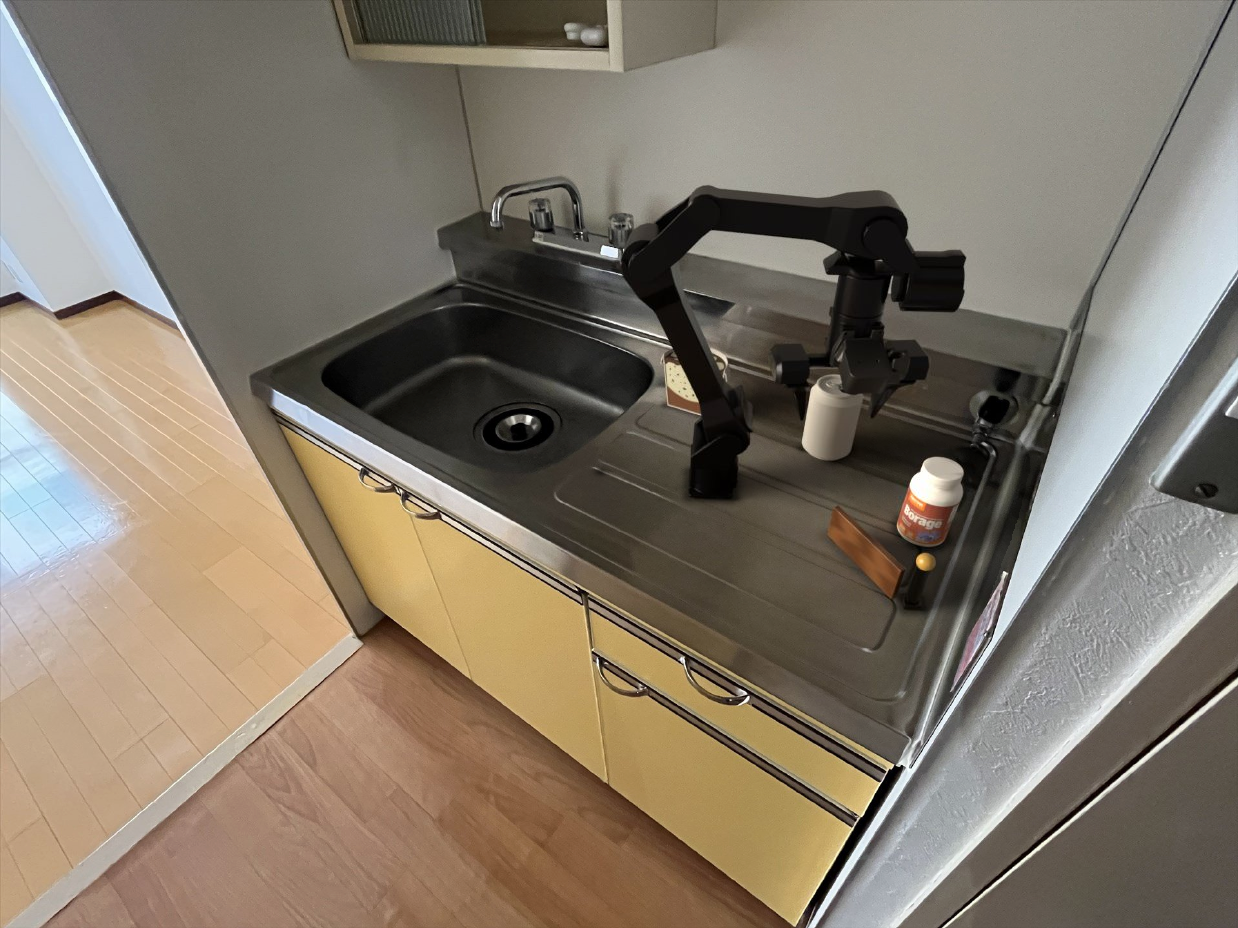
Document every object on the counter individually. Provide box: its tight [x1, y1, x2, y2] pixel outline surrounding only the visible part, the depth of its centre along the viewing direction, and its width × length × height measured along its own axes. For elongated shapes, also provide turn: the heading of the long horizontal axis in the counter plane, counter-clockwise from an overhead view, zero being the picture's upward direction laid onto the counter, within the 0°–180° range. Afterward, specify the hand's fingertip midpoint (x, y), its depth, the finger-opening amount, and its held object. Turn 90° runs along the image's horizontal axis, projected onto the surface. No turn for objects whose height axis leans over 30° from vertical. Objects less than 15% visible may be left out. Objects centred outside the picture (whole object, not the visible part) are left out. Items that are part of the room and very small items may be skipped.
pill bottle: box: [896, 456, 965, 548], centre depth 83 cm, size 6×6×11 cm
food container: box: [660, 347, 731, 416], centre depth 110 cm, size 12×6×10 cm, turn 58°
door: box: [827, 505, 907, 600], centre depth 80 cm, size 12×2×5 cm, turn 23°
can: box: [801, 374, 864, 462], centre depth 98 cm, size 8×8×12 cm
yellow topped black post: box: [899, 552, 937, 611], centre depth 74 cm, size 2×2×8 cm
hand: (835, 418), depth 85 cm, fingers open, 9 cm apart
